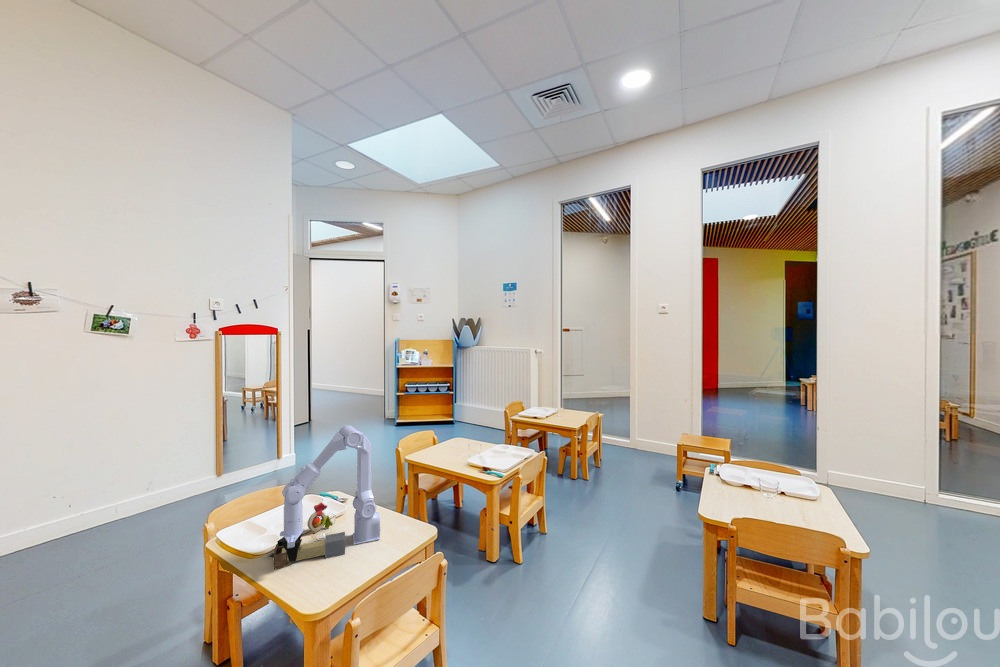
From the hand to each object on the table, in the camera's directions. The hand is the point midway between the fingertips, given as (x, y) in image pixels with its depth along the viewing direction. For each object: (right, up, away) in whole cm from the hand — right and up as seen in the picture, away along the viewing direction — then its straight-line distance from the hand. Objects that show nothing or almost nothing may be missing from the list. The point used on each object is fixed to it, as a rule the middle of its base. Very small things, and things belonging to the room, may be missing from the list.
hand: (293, 556), depth 132 cm
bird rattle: (0, -1, +20) cm, 20 cm away
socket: (-3, -1, -1) cm, 3 cm away
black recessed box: (-7, -2, +6) cm, 9 cm away
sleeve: (+12, -1, +5) cm, 13 cm away
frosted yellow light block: (+3, -1, +1) cm, 4 cm away
